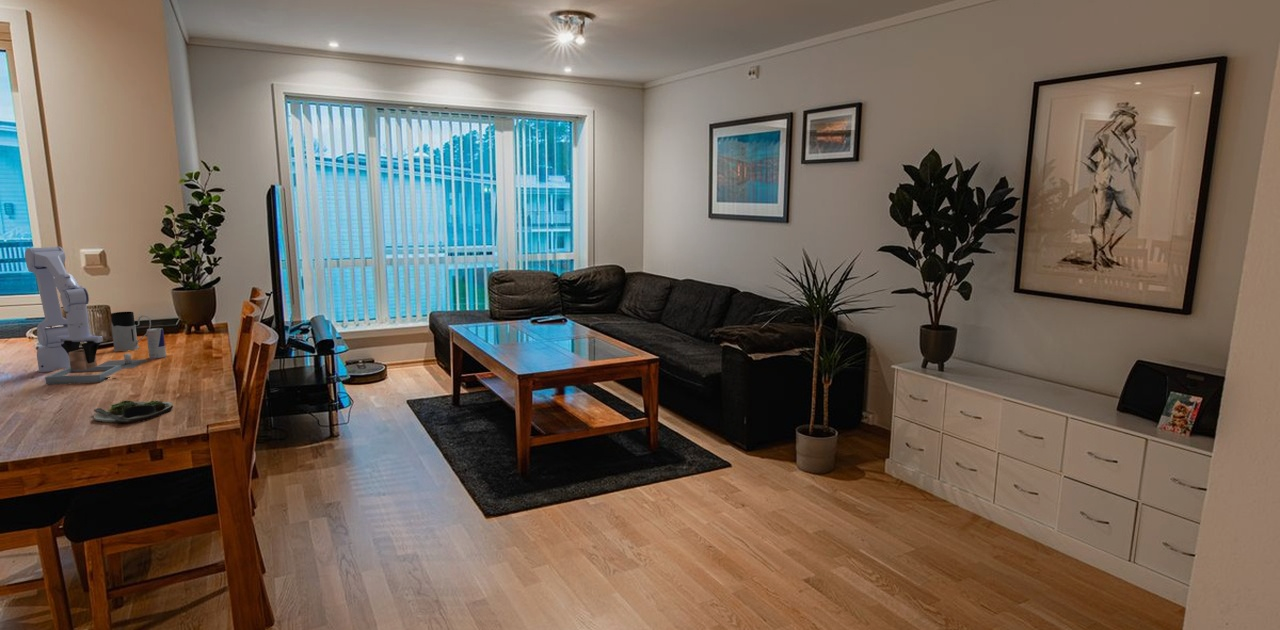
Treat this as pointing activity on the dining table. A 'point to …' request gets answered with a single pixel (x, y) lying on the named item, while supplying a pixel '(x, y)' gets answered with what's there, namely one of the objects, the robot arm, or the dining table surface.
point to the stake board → (124, 366)
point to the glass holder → (125, 331)
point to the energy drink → (156, 343)
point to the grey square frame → (61, 379)
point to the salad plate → (132, 411)
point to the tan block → (80, 360)
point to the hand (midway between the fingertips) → (83, 362)
